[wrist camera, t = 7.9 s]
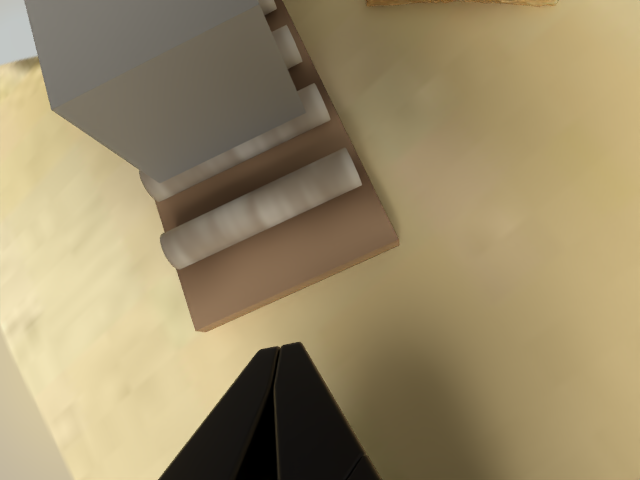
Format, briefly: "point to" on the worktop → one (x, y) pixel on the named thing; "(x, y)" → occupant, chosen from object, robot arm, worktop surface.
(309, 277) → the roller bed
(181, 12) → the gray rectangular block
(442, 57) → the worktop surface
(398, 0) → the shard
